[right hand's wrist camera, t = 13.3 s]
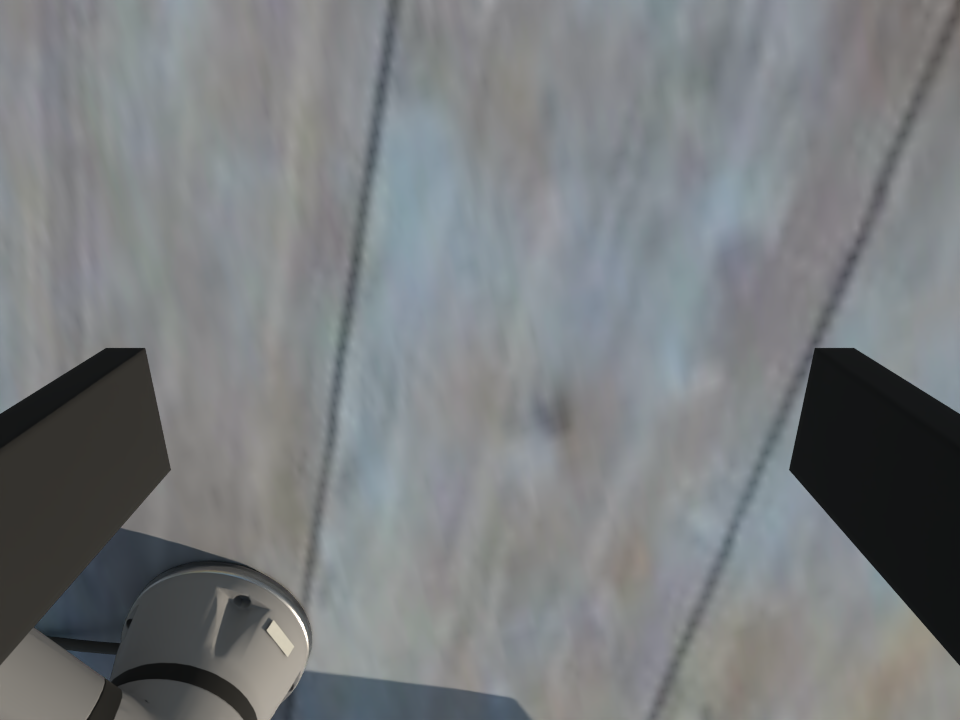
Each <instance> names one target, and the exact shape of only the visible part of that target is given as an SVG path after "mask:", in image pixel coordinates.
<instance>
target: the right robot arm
mask: <svg viewBox="0 0 960 720" xmlns="http://www.w3.org/2000/svg"><path fill="white" fill-rule="evenodd" d="M170 470H171V468H170V464H169V459H168V454H167V449H166V445H165V440H164V435H163V430H162V426H161V421H160V416H159V411H158V407H157V402H156V397H155V392H154V388H153V383H152V378H151V374H150V369H149V364H148V359H147V355H146V350H145V348H105V349H104V350H102V351H101V352H99V353H97V354H96V355H94V356H93V357H91V358H89V359H88V360H86V361H85V362H83V363H81V364H80V365H78V366H77V367H75V368H73V369H72V370H70V371H68V372H67V373H65V374H64V375H62V376H60V377H59V378H57V379H56V380H54V381H52V382H51V383H49V384H48V385H46V386H44V387H43V388H41V389H40V390H38V391H36V392H35V393H33V394H32V395H30V396H28V397H27V398H25V399H24V400H22V401H20V402H19V403H17V404H16V405H14V406H12V407H11V408H9V409H7V410H6V411H4V412H3V413H1V414H0V720H270V719H271V718H272V716H273V715H274V713H275V711H276V710H277V708H278V706H279V705H280V703H282V702H283V701H284V700H285V699H286V698H287V697H288V696H289V695H290V694H291V692H292V691H293V690H294V689H295V687H296V686H297V684H298V682H299V680H300V678H301V676H302V674H303V672H304V670H305V668H306V665H307V662H308V658H309V655H310V651H311V646H312V633H311V627H310V624H309V621H308V618H307V616H306V614H305V612H304V610H303V608H302V607H301V606H300V604H299V603H298V601H297V600H296V599H295V598H294V597H293V596H292V595H291V594H290V593H289V592H288V591H287V590H286V589H285V588H284V587H283V586H281V585H280V584H279V583H277V582H276V581H274V580H273V579H271V578H269V577H267V576H266V575H264V574H262V573H259V572H257V571H255V570H252V569H250V568H247V567H243V566H240V565H235V564H231V563H224V562H195V563H189V564H184V565H181V566H177V567H175V568H172V569H170V570H168V571H166V572H164V573H162V574H160V575H159V576H157V577H156V578H155V579H153V580H152V581H151V582H150V583H149V584H148V585H147V586H146V587H145V588H144V590H143V591H142V592H141V594H140V595H139V597H138V598H137V600H136V601H135V602H134V604H133V606H132V608H131V609H130V612H129V614H128V616H127V618H126V620H125V623H124V626H123V630H122V635H121V643H110V642H97V641H86V640H76V639H68V638H59V637H48V636H45V635H44V634H43V633H41V632H40V631H38V630H37V629H36V628H34V626H35V625H36V624H37V623H38V622H39V620H40V619H41V618H42V617H43V616H44V615H45V614H46V612H47V611H48V610H49V609H50V608H51V607H52V606H53V604H54V603H55V602H56V601H57V600H58V599H59V598H60V596H61V595H62V594H63V593H64V592H65V591H66V590H67V588H68V587H69V586H70V585H71V584H72V583H73V581H74V580H75V579H76V578H77V577H78V576H79V575H80V573H81V572H82V571H83V570H84V569H85V568H86V567H87V565H88V564H89V563H90V562H91V561H92V560H93V559H94V557H95V556H96V555H97V554H98V553H99V552H100V551H101V549H102V548H103V547H104V546H105V545H106V544H107V542H108V541H109V540H110V539H111V538H112V537H113V536H114V534H115V533H116V532H117V531H118V530H119V529H120V528H121V526H122V525H123V524H124V523H125V522H126V521H127V520H128V518H129V517H130V516H131V515H132V514H133V513H134V511H135V510H136V509H137V508H138V507H139V506H140V505H141V503H142V502H143V501H144V500H145V499H146V498H147V497H148V495H149V494H150V493H151V492H152V491H153V490H154V489H155V487H156V486H157V485H158V484H159V483H160V482H161V481H162V479H163V478H164V477H165V476H166V475H167V474H168V472H169V471H170ZM789 470H790V471H791V472H792V474H793V475H794V476H795V477H796V478H797V479H798V481H799V482H800V483H801V484H802V485H803V486H804V487H805V489H806V490H807V491H808V492H809V493H810V494H811V495H812V497H813V498H814V499H815V500H816V501H817V502H818V503H819V505H820V506H821V507H822V508H823V509H824V510H825V512H826V513H827V514H828V515H829V516H830V517H831V518H832V520H833V521H834V522H835V523H836V524H837V525H838V526H839V528H840V529H841V530H842V531H843V532H844V533H845V534H846V536H847V537H848V538H849V539H850V540H851V541H852V542H853V544H854V545H855V546H856V547H857V548H858V549H859V551H860V552H861V553H862V554H863V555H864V556H865V557H866V559H867V560H868V561H869V562H870V563H871V564H872V565H873V567H874V568H875V569H876V570H877V571H878V572H879V573H880V575H881V576H882V577H883V578H884V579H885V580H886V581H887V583H888V584H889V585H890V586H891V587H892V588H893V590H894V591H895V592H896V593H897V594H898V595H899V596H900V598H901V599H902V600H903V601H904V602H905V603H906V604H907V606H908V607H909V608H910V609H911V610H912V611H913V612H914V614H915V615H916V616H917V617H918V618H919V619H920V620H921V622H922V623H923V624H924V625H925V626H926V627H927V629H928V630H929V631H930V632H931V633H932V634H933V635H934V637H935V638H936V639H937V640H938V641H939V642H940V643H941V645H942V646H943V647H944V648H945V649H946V650H947V651H948V653H949V654H950V655H951V656H952V657H953V658H954V659H955V661H956V662H957V663H958V664H959V665H960V414H959V413H957V412H956V411H954V410H953V409H951V408H949V407H948V406H946V405H944V404H943V403H941V402H940V401H938V400H936V399H935V398H933V397H932V396H930V395H928V394H927V393H925V392H924V391H922V390H920V389H919V388H917V387H916V386H914V385H912V384H911V383H909V382H908V381H906V380H904V379H903V378H901V377H900V376H898V375H896V374H895V373H893V372H892V371H890V370H888V369H887V368H885V367H883V366H882V365H880V364H879V363H877V362H875V361H874V360H872V359H871V358H869V357H867V356H866V355H864V354H863V353H861V352H859V351H858V350H856V349H855V348H815V350H814V354H813V359H812V364H811V369H810V373H809V378H808V383H807V388H806V392H805V397H804V402H803V407H802V411H801V416H800V421H799V426H798V430H797V435H796V440H795V445H794V449H793V454H792V459H791V464H790V468H789ZM66 650H72V651H81V652H91V653H103V654H115V655H116V658H115V662H114V666H113V670H112V674H111V677H110V681H108V680H107V679H105V678H104V677H103V676H101V675H100V674H98V673H97V672H96V671H94V670H93V669H91V668H90V667H89V666H87V665H86V664H84V663H83V662H82V661H80V660H79V659H77V658H76V657H75V656H73V655H72V654H70V653H69V652H68V651H66Z"/></svg>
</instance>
